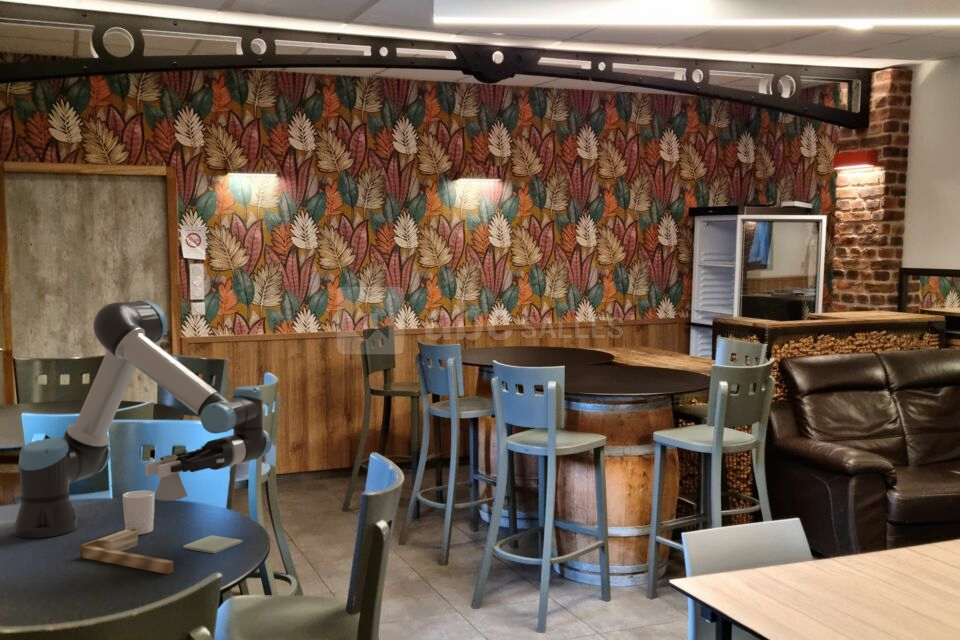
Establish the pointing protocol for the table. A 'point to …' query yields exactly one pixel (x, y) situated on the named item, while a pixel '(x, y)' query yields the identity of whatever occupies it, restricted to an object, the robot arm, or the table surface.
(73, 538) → the table surface
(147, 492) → the white cup
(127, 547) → the offcut low
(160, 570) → the corner fence
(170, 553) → the table surface
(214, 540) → the coaster
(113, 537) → the offcut top
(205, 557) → the table surface
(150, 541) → the table surface
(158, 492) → the flask
